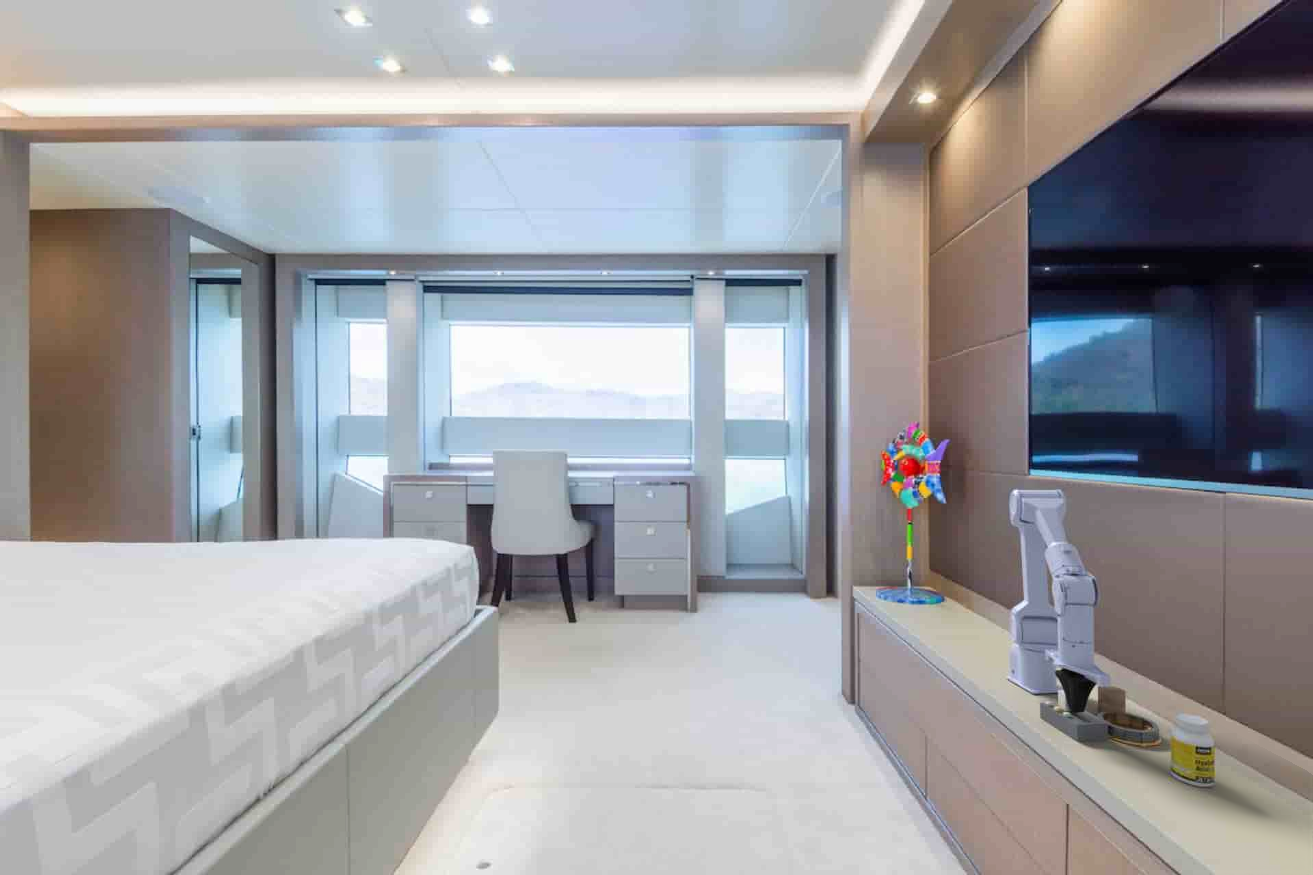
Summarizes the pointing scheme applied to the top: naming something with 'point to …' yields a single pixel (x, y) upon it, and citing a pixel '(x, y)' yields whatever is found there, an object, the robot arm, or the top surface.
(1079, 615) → the robot arm
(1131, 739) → the ring
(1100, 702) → the brown tapered cylinder
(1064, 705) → the handle
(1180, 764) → the supplement bottle
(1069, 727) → the switch box
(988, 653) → the top surface
